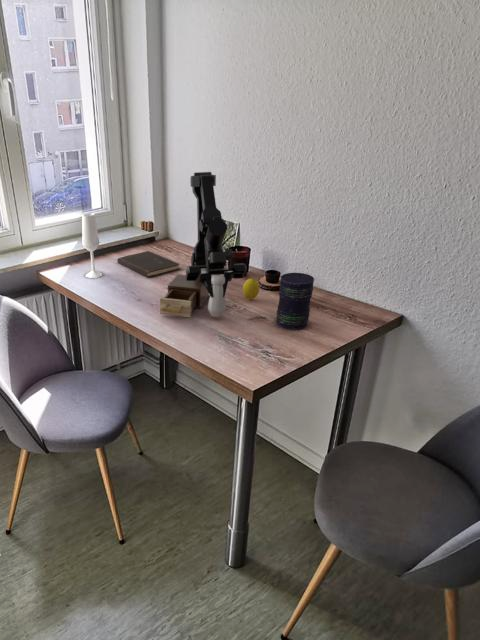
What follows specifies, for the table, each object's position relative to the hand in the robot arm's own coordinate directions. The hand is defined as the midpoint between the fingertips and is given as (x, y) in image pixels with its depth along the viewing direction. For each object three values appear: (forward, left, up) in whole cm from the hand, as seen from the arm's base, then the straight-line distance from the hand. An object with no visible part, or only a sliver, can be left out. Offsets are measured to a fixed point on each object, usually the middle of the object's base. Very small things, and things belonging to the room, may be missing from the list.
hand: (218, 297), depth 158 cm
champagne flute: (+11, -64, -8) cm, 65 cm away
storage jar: (-17, +16, -8) cm, 25 cm away
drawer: (+7, -12, -7) cm, 15 cm away
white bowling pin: (-1, -1, -7) cm, 7 cm away
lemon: (-20, -6, -8) cm, 22 cm away
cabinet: (-3, -19, -8) cm, 21 cm away
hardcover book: (-12, -59, -8) cm, 61 cm away
